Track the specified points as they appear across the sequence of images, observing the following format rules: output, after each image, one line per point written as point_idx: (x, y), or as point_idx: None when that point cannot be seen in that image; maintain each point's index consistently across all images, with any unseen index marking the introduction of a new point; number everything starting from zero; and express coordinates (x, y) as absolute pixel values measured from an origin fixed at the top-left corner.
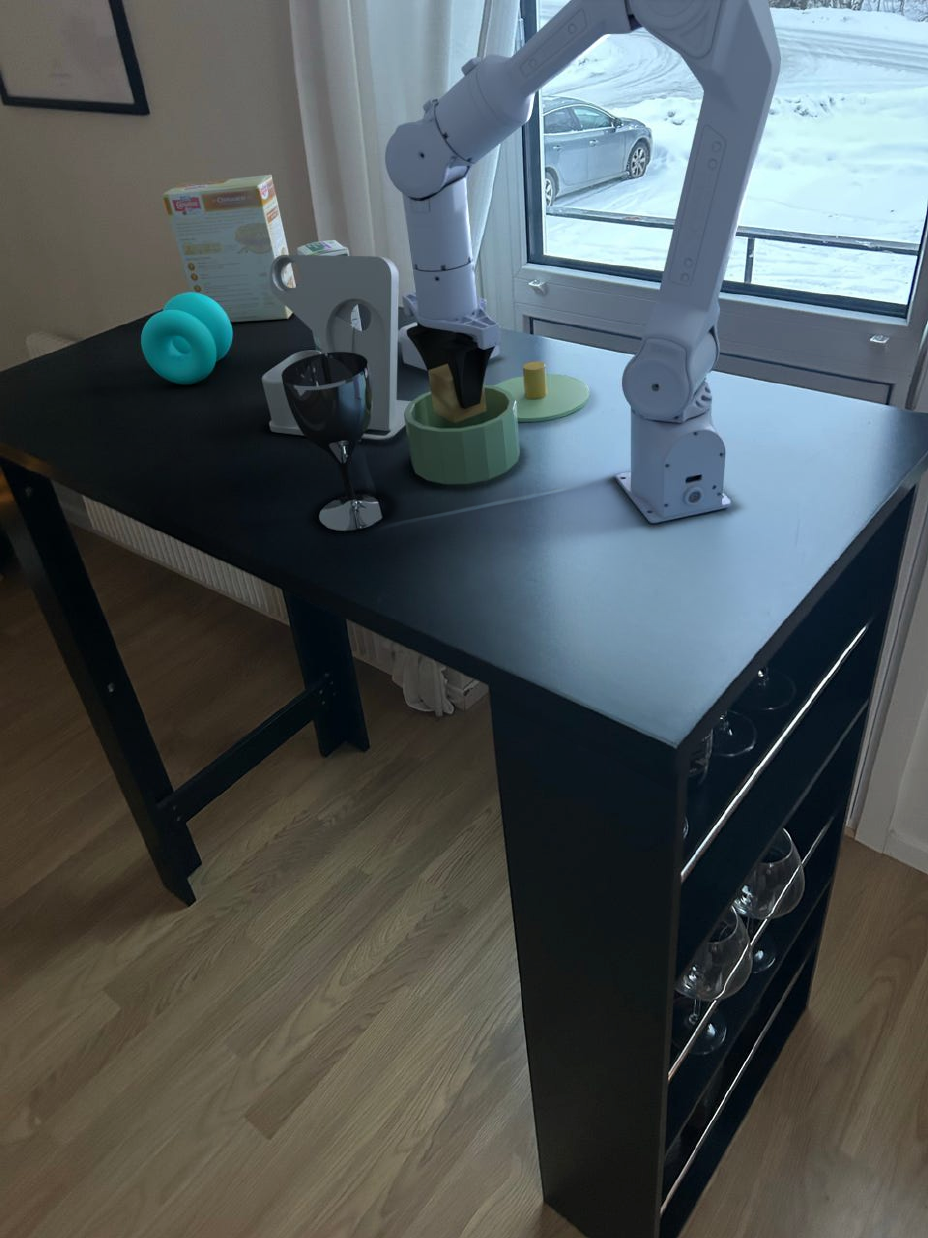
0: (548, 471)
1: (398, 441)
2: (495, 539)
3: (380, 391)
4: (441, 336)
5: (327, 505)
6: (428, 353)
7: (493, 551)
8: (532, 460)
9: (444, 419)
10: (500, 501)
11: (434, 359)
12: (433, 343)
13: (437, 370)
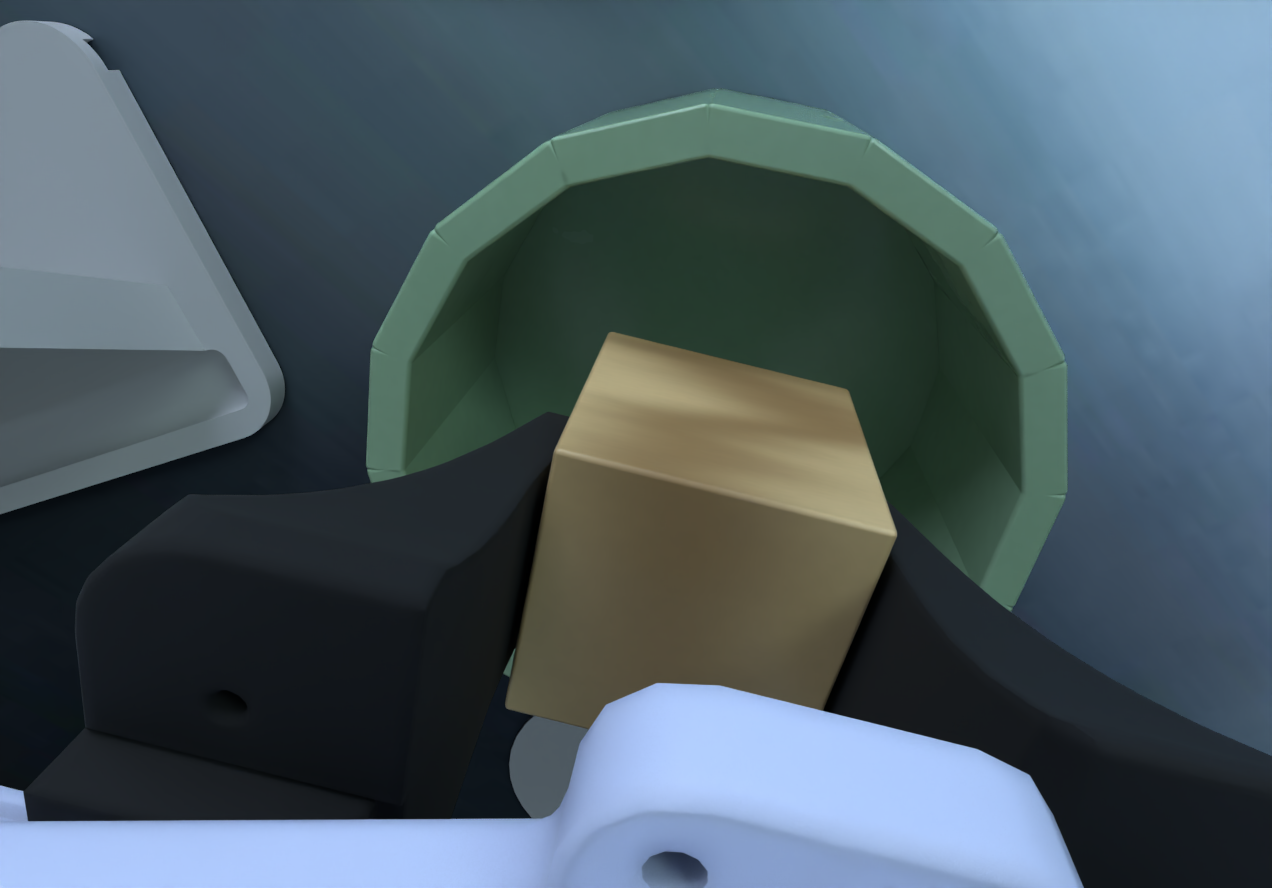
0: (1135, 220)
1: (301, 362)
2: (1184, 707)
3: (4, 367)
4: (442, 757)
5: (523, 796)
6: (459, 779)
7: None
8: (994, 171)
9: (472, 307)
10: (1058, 523)
11: (485, 692)
12: (442, 792)
13: (568, 685)
